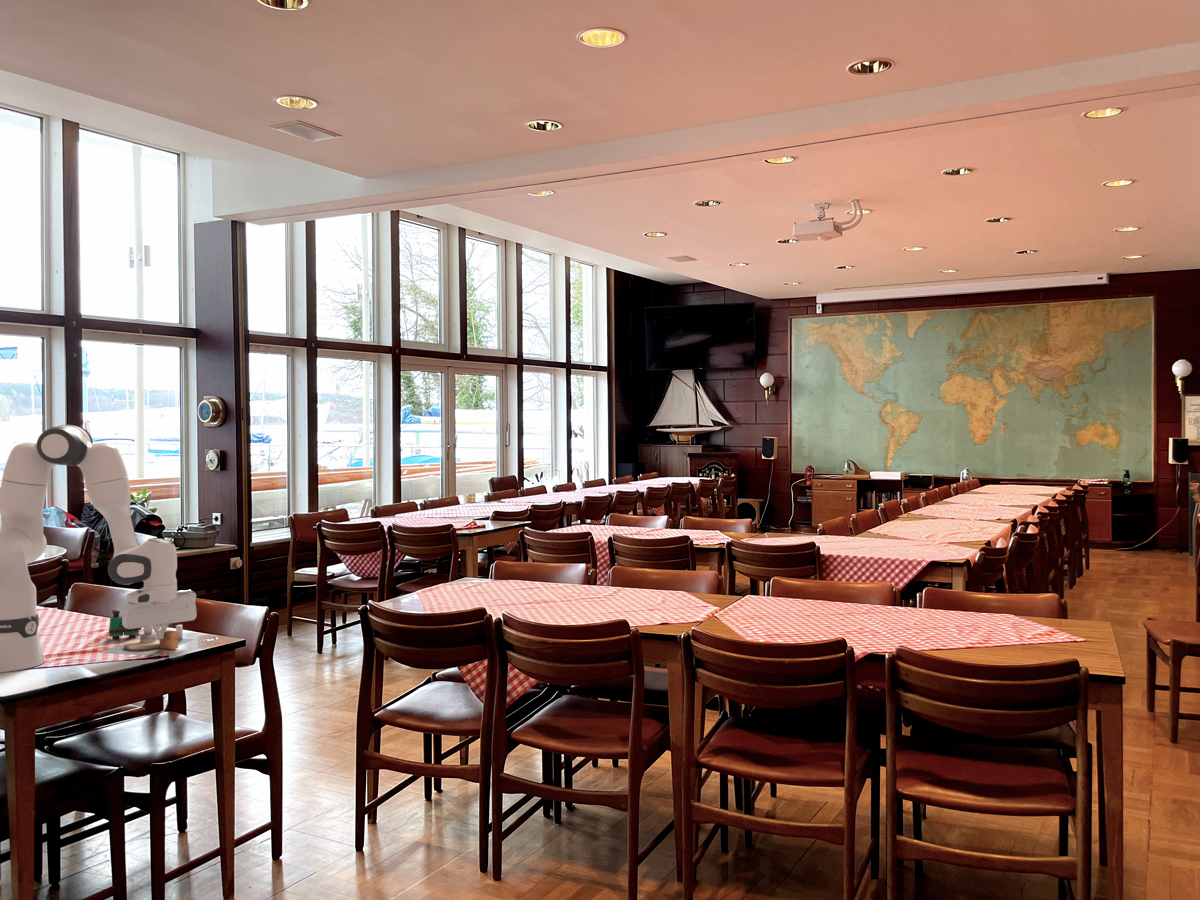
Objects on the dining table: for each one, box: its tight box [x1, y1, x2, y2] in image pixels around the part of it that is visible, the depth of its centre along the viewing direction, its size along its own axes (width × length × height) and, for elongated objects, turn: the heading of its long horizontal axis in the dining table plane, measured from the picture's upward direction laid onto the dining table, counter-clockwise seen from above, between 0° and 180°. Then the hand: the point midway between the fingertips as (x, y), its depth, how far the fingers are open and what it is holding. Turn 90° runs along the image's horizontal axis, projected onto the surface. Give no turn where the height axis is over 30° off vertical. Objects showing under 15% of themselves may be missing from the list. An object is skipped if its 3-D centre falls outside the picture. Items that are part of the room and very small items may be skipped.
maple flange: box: [123, 629, 179, 650], centre depth 269 cm, size 18×13×5 cm
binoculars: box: [108, 609, 143, 641], centre depth 282 cm, size 9×11×10 cm
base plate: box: [99, 624, 195, 656], centre depth 270 cm, size 17×20×8 cm
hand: (160, 639), depth 265 cm, fingers closed, pressing on maple flange
